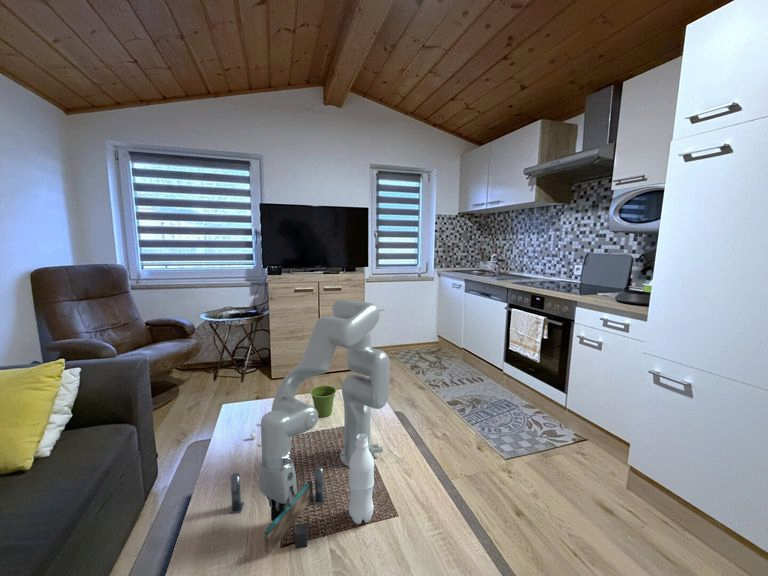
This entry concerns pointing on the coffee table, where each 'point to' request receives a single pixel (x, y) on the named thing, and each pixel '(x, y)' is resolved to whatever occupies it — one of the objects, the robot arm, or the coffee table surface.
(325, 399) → the plant pot
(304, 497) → the gate
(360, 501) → the water bottle
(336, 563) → the coffee table surface
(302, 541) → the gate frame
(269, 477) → the robot arm
